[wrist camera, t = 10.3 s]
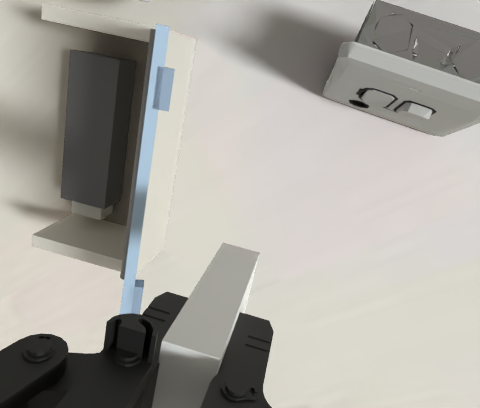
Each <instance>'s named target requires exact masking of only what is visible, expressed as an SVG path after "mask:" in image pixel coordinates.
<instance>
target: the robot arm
mask: <svg viewBox="0 0 480 408" xmlns="http://www.w3.org/2000/svg"><path fill="white" fill-rule="evenodd" d="M259 254H260V253H259V252H255V251H251V250H248V249H244V248H240V247H237V246H233V245H230V244H226V243H223V244H222V245H221V247H220V249H219V250H218V252H217V253H216V255H215V257H214V258H213V260H212V261H211V263H210V265H209V266H208V268H207V269H206V271H205V273H204V274H203V276H202V277H201V279H200V281H199V282H198V284H197V285H196V287H195V289H194V290H193V292H192V293H191V295H190V297H189V298H187V297H183V296H180V295H176V294H173V293H170V292H165V293H163V294H161V295H159V296H157V297H155V299H154V300H153V301H152V302H151V304H150V305H149V306H148V308H147V309H146V310H145V311H144V313H143V315H140V314H134V313H128V314H120V315H117V316H114V317H112V318H111V319H110V320H108V321H107V325H106V333H105V341H104V349H103V350H102V351H101V352H100V353H95V354H83V353H68V346H67V343H66V342H65V341H64V340H63V339H62V338H61V337H58V336H55V335H52V334H36V335H30V336H28V337H25V338H23V339H20V340H18V341H17V342H15V343H13V344H11V345H10V346H8V347H6V348H4V349H3V350H1V351H0V408H272V407H271V406H270V405H269V404H268V403H267V401H266V399H265V397H264V394H263V383H264V378H265V373H266V367H267V362H268V357H269V352H270V347H271V342H272V337H273V329H272V327H271V324H270V322H269V321H268V320H265V319H261V318H258V317H254V316H251V315H248V314H244V313H245V310H246V306H247V302H248V298H249V294H250V290H251V286H252V282H253V278H254V274H255V270H256V266H257V262H258V258H259Z"/></svg>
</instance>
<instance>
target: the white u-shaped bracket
mask: <svg viewBox="0 0 480 408" xmlns="http://www.w3.org/2000/svg"><path fill="white" fill-rule="evenodd" d="M41 19H43V20H47V21H52V22H56V23H61V24H65V25H69V26H74V27H78V28H83V29H87V30H92V31H97V32H101V33H106V34H111V35H115V36H120V37H125V38H129V39H134V40H139V41H143V42H148V43H149V37H150V29H156V27H154V26H150V25H145V24H140V23H135V22H130V21H126V20H121V19H116V18H111V17H106V16H102V15H97V14H92V13H87V12H82V11H78V10H73V9H68V8H63V7H58V6H54V5H49V4H44V3H42V16H41ZM196 43H197V39H195V38H193V37H190V36H187V35H184V34H181V33H178V32H175V31H172V30H169V36H168V43H167V51H166V58H165V65H164V67H168V68H173V69H175V72H174V79H173V86H172V93H171V100H170V107H169V112H168V111H162V110H158V117H157V124H156V132H155V139H154V146H153V154H152V161H151V168H150V176H149V183H148V191H147V198H146V205H145V213H144V220H143V227H142V235H141V242H140V249H139V257H138V264H137V271H136V276H137V275H138V274H139V273H140V272H141V271H142V270H143V269H144V268H145V267H146V266H147V264H148V263H149V262H150V261H151V260H152V259H153V258H154V257H155V256H156V255H157V254H158V253H159V252H160V251H161V250H162V249H163V248H164V246H165V240H166V234H167V227H168V221H169V215H170V208H171V202H172V195H173V189H174V183H175V176H176V170H177V164H178V157H179V151H180V145H181V138H182V132H183V125H184V119H185V113H186V106H187V100H188V94H189V87H190V81H191V75H192V68H193V62H194V55H195V49H196ZM125 234H126V226H124V225H120V224H116V223H113V222H109V221H106V220H97V219H94V218H90V217H86V216H83V215H79V214H76V213H73V214H71V215H69V216H67V217H65V218H63V219H61V220H60V221H58V222H56V223H54V224H52V225H50V226H48V227H46V228H44V229H42V230H40V231H39V232H37V233H35V234H33V235H32V246H33V247H37V248H40V249H44V250H47V251H51V252H54V253H57V254H61V255H64V256H68V257H71V258H75V259H78V260H82V261H85V262H89V263H92V264H95V265H99V266H102V267H106V268H109V269H113V270H116V271H120V272H121V266H122V258H123V250H124V242H125Z"/></svg>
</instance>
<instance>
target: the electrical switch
mask: <svg viewBox="0 0 480 408" xmlns="http://www.w3.org/2000/svg"><path fill="white" fill-rule="evenodd" d="M373 3H374V2H373ZM372 6H373V4H372ZM372 6H371V8H370V10H369V12H368V14H367V16H366V18H365V20H364V23H363V25H362V27H361V29H360V31H359V33H358V35H357V37H356V39H355V41H349V42H342V44H341V47H340V49H339V51H338V52H339V54H338V58H337V60H336V63H335V65H334V68H333V70H332V72H331V75H330V77H329V80H327V81H326V84H325V87H324V90H323V94H322V95H324V96H325V97H326V98H328V99H331V100H333V101H336V102H339V103H342V104H345V105H348V106H351V107H353V108H356V109H359V110H362V111H365V112H368V113H371V114H373V115H376V116H379V117H382V118H385V119H388V120H391V121H394V122H396V123H399V124H402V125H405V126H408V127H411V128H414V129H416V130H419V131H422V132H425V133H428V134H431V135H434V136H442V137H443V136H446V135H448V134H451V133H454V132H457V131H459V130H462V129H465V128H467V127H470V126H473V125H475V124H478V123H480V33H479V32H476V31H473V30H470V29H467V28H463V27H460V26H457V25H454V24H451V23H448V22H445V21H442V20H439V19H436V18H433V17H429V16H426V15H423V14H420V13H417V12H414V11H411V10H408V9H405V8H402V7H399V6H396V5H392V4H389V3H386V2H383V1H380V0H376V1H375V4H374V6H373V9H372ZM371 9H372V11H371ZM370 12H371V13H370ZM392 13H394V14H392ZM369 15H370V16H369ZM416 38H417V43H418V45H417V46H416V47H415V49H413V47H414V44H415V41H416ZM458 47H459V49H458ZM450 49H451V50H450ZM457 49H458V50H457ZM449 51H450V53H449V56H447V54H448V52H449ZM412 54H415V55H416V54H417V56H414V55H412ZM441 63H443V64H441ZM453 65H455V67H453Z"/></svg>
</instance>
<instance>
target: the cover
mask: <svg viewBox="0 0 480 408" xmlns="http://www.w3.org/2000/svg"><path fill="white" fill-rule="evenodd" d="M169 29H170V27H168V26H164V25H159V24H156V29H150V37H149V45H148V54H147V62H146V70H145V78H144V86H143V94H142V103H141V111H140V119H139V127H138V135H137V144H136V152H135V160H134V168H133V176H132V185H131V193H130V201H129V209H128V217H127V226H126V234H125V242H124V250H123V258H122V266H121V275H120V278H121V279H124V286H123V294H122V302H121V309H120V314H128V313H134V314H140V308H141V301H142V294H143V286H144V280H135V279H136V271H137V264H138V257H139V249H140V242H141V235H142V227H143V220H144V213H145V205H146V198H147V191H148V183H149V176H150V168H151V161H152V154H153V146H154V139H155V132H156V124H157V117H158V110H162V111H168V112H169V107H170V100H171V93H172V86H173V79H174V72H175V69H173V68H168V67H164V65H165V58H166V51H167V43H168V36H169Z"/></svg>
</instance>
